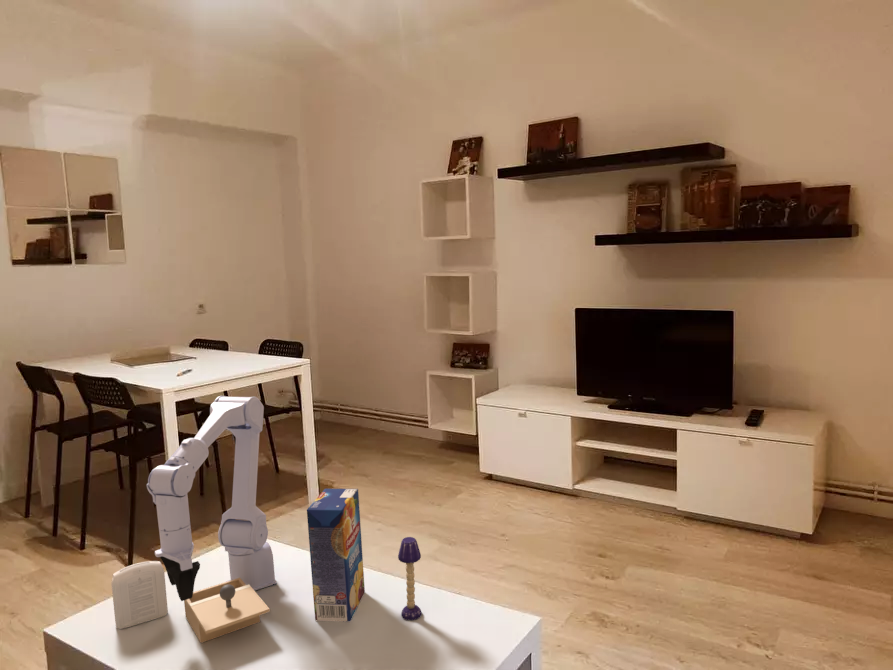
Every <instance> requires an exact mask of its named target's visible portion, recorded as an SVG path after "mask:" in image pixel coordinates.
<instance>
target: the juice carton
mask: <svg viewBox="0 0 893 670" xmlns="http://www.w3.org/2000/svg"><path fill="white" fill-rule="evenodd" d="M359 496H360V495H359V488H324V489H323V490H322V491H321V492H320V494H319V495H318V496H317V497H316V498H315V500H314V501H313V502H312V503H311V504H310V506H308V508H307V509H306V515H307V516H306V517H307V529H308V530H307V531H308V545H309V555H310V569H311V570H310V571H311V584H312V585H311V586H312V595H313V608H314V620H315V621H316V620H317V621H320V622H323V621H324V622H343V621H344V622H345V623H346V621H347V622H349V623H350V622H351V621H352V619H353V617H354V615H355V613H356V612H357V609H358V607H359V605H360V603H361V601H362V599H363V597H364V594H365V593H366V589H365V574H364V559H363V557H364V556H363V543H362V528H361V513H360V511H361V510H360V498H359Z"/></svg>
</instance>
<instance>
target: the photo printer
mask: <svg viewBox="0 0 893 670" xmlns="http://www.w3.org/2000/svg"><path fill="white" fill-rule="evenodd" d="M165 574H166V573H165V570H164V567H163V565H162V562H161V561H158V560H148V561H147V560H146V561H140V562H138V563H137V562H136V563H134V564H131V565H127V566H125V567H123V568H120V569H119V570H117V571H115V572H114V573H113V574H112V580H111V591H112V601H113V610H114V620H115V621H114V622H115V628H116V629H119V630H121V629H126V628H130V627H133V626H136V625H139V624H140V625H141V624H143V623H147V622H150V621H151V620H152V621H153V620H157V619H159V618H162V617H165V616H167V614H168V613H169V609H168V608H169V607H168V599H167V597H168V596H167V587H166V575H165Z"/></svg>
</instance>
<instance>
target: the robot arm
mask: <svg viewBox="0 0 893 670" xmlns="http://www.w3.org/2000/svg"><path fill="white" fill-rule="evenodd" d="M264 410H265V406H264V405H263V403H262V402H261V400H260V399H259V397H258V396H226V395H219V396H217V397H216V398H215V399H214V400H213V402H212V403H211V404H210V407H209V416H208V417H207V418H206V420H205V421H204V422H203V424H202V426H201V427H200V429H198V432H197V433H196V434H195V436H194V437H188V438H186V439H183V440H182V441H181V443H180V445H179V447H177V449H176V450H175V451H174V452H173V453H172V454H171V456H170V457H169V458H168V459H167V460H166V461H165V463H164V464H160V465H157V466H156V467H154V468H153V469H152V470H151V472H150V473H149V475H148V478H147V483H146V489H147V491H148V492H149V494H150V495H151V497H152V503H154V505H156V506H155V507H156V515H157V523H158V532H159V533H158V534H159V540H160V541H159V543H160V549H157V550H155V551H154V555H155V557H156V558H160V559H161V562H162V563H163V565H164V568H165V571H166V573H167V578H168V580H169V582H170V584H171V586H174V585H175V587H176V592H177V595H178V598H179V599H180V601H181V602H184V600H187V599H190V598H192V596H193V592H194V590H195V589H194V587H195V581H196V578H197V575H198V573H199V572H198V571H199V570H200V568H201V563H200V561H198V560H197V561H193V558H192V556H193V553H194V548H195V545H194V542H193V536H192V529H191V528H192V527H191V519H190V517H191V516H190V507H189V498H188V497H189V496H188V493H189V492H190V491H191V490H192V487H193V483H194V479H195V478H196V472H197V471H199V469H200V467H201V466H202V465H203V463H204V462H205V461H206V459H207V458H208V457H209V453H210V452H209V448H210V446H211V445H212V444H213V443H214V442H215V441H216V440H217V439H218V438H219V436H221V434H222V433H224V431H225V430H228V431H229V432H231V433H232V435H233V436H234V437H235V447H234V466H233V479H232V481H233V482H232V495H231V496H232V499H231V507H230V508H228V509H227V510H226V511H225V512H223V514H221V522H220V525H219V528H218V532H217V538H218V543H219V545H221V546H222V547H224V552H227V554H228V565H229V574H230V575H229V576H230V579H229V580H227V581H230V580H234V579H237V578H241V579H242V581H243V582H244V583H245V584H246V585H250V586H251V587H252V588H253V590H254V591H255V592H256V591H258V590H261V589H263V588H264V589H265V588H267V587H270V586H273V584H274V585H276V584H277V581H276V578H275V577H276V576H275V564H274V561H275V560H274V554H273V551H272V547H271V545H270V542H268V534H269V529H268V528H269V527H268V526H267V514H266V513H265V512H264V511H262V510H261V509H260V508H259V507H258V506H257V505H256V504H257V485H258V470H259V469H258V468H259V450H260V448H259V447H260V435H261V434H260V433H261V432H262V431H263V425H264ZM227 581H225V582H227Z"/></svg>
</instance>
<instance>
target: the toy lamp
mask: <svg viewBox="0 0 893 670" xmlns="http://www.w3.org/2000/svg"><path fill="white" fill-rule="evenodd" d="M421 557H422V555H421V551H420V547H419V543H418V541H417V539H416V538H415V537H413V536H407V537H403V538H402V539H401V543H400V546H399V550H398V555H397V559H398V561H400V562H401V563H403V564H405V570H406V575H405V577H406V605H405V606H404V607H403V608H402V610H401V614H400V615H401V618H402V619H404V620H406V621H416V620H418V619H420V618H421V617H422V610H421V607H419V605H417V604H416V601H415V599H416V594H415V592H416V587H415V584H416V583H415V581H416V580H415V565H414V564H415V563H417V562H419V561H420V560H421Z"/></svg>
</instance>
